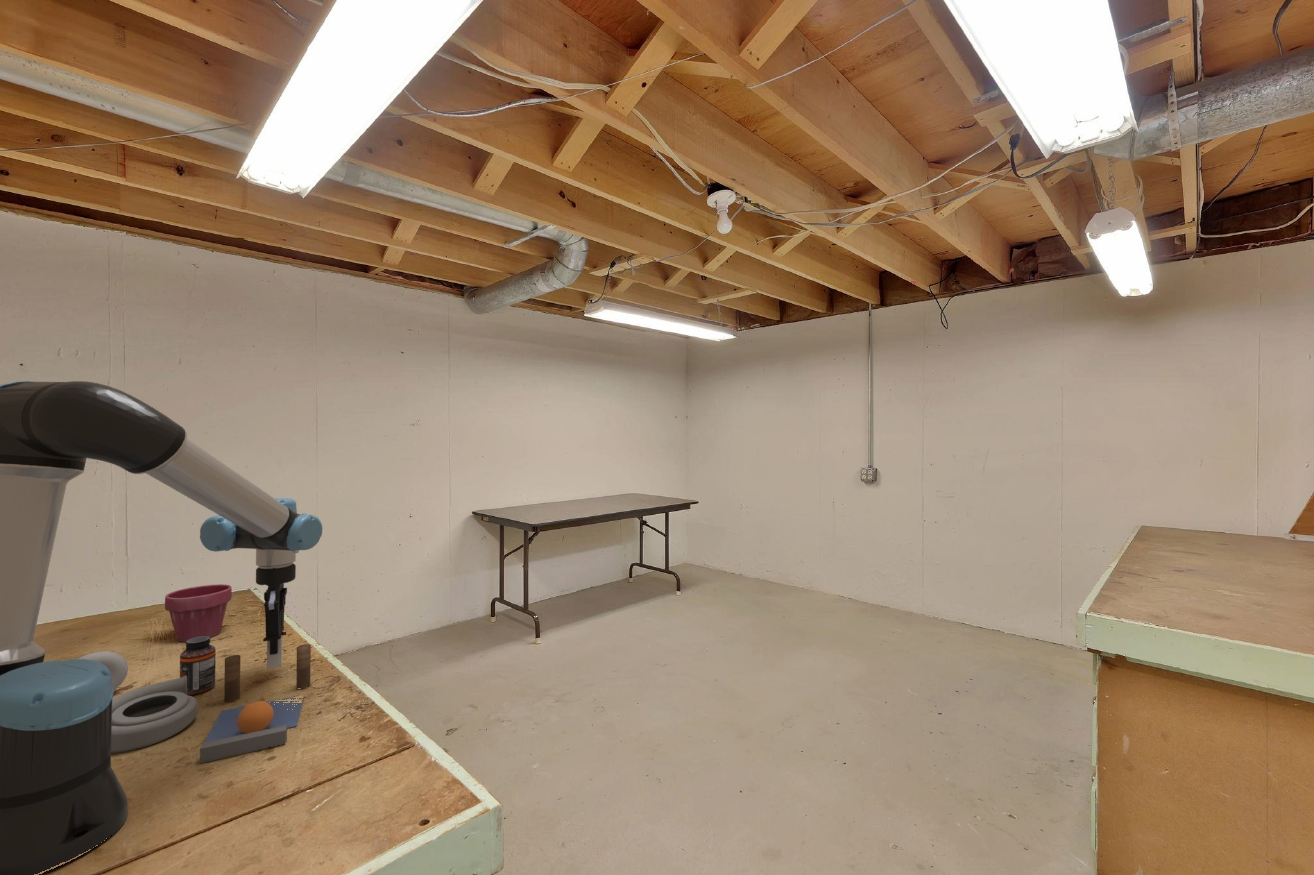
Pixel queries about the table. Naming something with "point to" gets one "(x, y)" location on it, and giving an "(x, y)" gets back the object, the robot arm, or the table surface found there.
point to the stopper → (242, 744)
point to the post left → (232, 678)
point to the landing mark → (281, 717)
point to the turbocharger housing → (151, 714)
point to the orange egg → (255, 717)
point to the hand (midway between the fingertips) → (274, 666)
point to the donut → (111, 665)
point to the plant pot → (198, 610)
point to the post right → (303, 666)
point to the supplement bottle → (198, 665)
